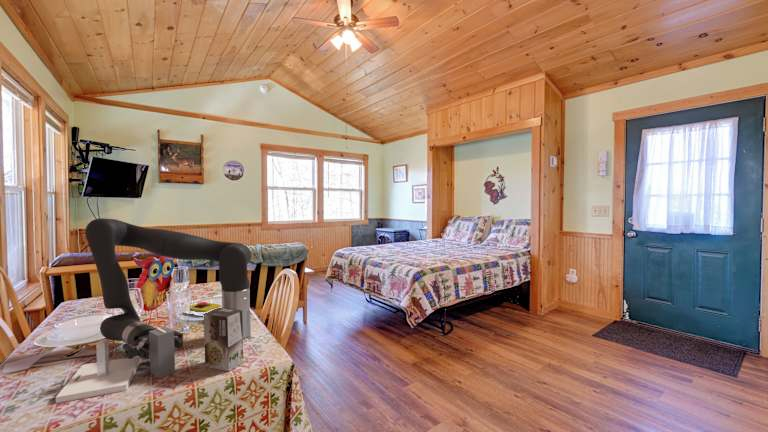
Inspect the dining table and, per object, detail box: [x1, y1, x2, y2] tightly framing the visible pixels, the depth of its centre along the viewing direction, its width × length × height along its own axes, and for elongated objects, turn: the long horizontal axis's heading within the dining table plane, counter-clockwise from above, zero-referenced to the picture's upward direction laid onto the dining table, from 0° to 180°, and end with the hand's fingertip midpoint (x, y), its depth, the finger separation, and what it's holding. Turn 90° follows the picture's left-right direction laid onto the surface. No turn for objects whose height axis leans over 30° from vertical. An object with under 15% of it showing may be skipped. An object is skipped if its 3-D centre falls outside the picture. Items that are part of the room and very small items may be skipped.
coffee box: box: [203, 307, 244, 372], centre depth 103 cm, size 9×6×16 cm
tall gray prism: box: [149, 326, 176, 379], centre depth 99 cm, size 6×4×12 cm
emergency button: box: [189, 301, 222, 312], centre depth 151 cm, size 9×4×15 cm
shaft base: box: [55, 356, 142, 404], centre depth 95 cm, size 18×14×2 cm
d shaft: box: [95, 338, 110, 378], centre depth 95 cm, size 3×2×9 cm, turn 25°
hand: (164, 349), depth 98 cm, fingers open, 8 cm apart
